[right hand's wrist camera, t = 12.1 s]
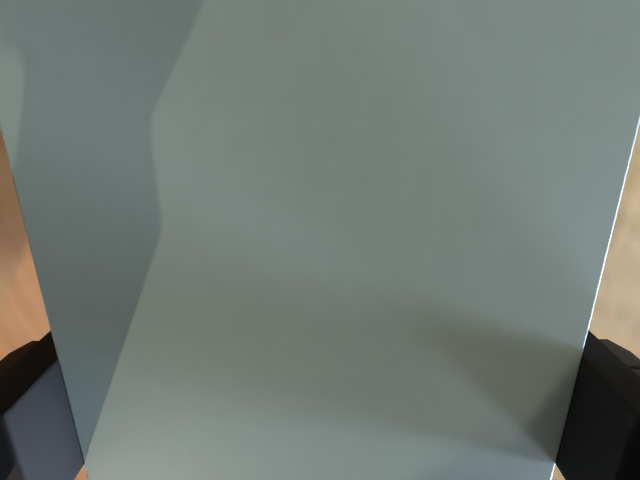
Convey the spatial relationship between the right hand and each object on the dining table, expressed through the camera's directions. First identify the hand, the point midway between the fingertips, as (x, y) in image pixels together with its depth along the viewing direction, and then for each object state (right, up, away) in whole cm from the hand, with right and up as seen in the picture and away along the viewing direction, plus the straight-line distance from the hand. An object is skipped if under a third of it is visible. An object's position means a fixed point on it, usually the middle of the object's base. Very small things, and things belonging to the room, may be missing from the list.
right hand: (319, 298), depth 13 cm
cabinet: (0, +8, +4) cm, 9 cm away
